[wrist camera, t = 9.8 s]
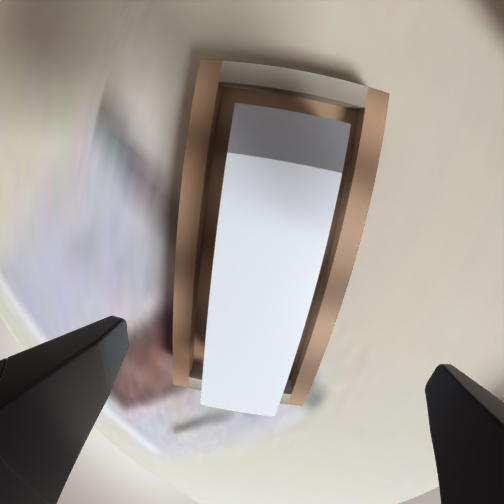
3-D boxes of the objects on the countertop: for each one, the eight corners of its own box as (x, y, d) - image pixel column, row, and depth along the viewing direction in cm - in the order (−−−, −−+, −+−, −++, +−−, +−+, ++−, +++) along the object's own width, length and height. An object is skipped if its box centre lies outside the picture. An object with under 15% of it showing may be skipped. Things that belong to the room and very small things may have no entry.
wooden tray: (209, 70, 15) (199, 59, 13) (375, 100, 15) (390, 93, 12) (180, 363, 22) (172, 383, 20) (302, 383, 22) (303, 405, 20)
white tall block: (276, 364, 20) (274, 416, 16) (214, 354, 20) (200, 404, 16) (328, 130, 15) (351, 124, 10) (247, 116, 15) (235, 102, 10)
